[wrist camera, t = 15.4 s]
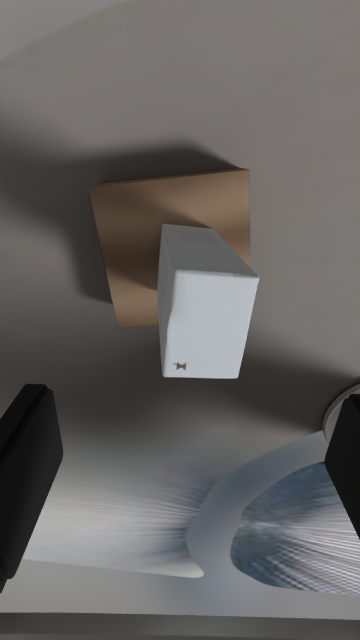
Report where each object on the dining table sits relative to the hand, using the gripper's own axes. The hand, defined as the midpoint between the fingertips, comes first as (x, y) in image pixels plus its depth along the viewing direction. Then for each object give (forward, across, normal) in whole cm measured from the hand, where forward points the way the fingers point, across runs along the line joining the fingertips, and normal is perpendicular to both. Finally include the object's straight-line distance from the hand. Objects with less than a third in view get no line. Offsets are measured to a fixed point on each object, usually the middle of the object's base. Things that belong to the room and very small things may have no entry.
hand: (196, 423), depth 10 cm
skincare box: (+18, 0, 0) cm, 18 cm away
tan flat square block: (+23, +1, -1) cm, 23 cm away
